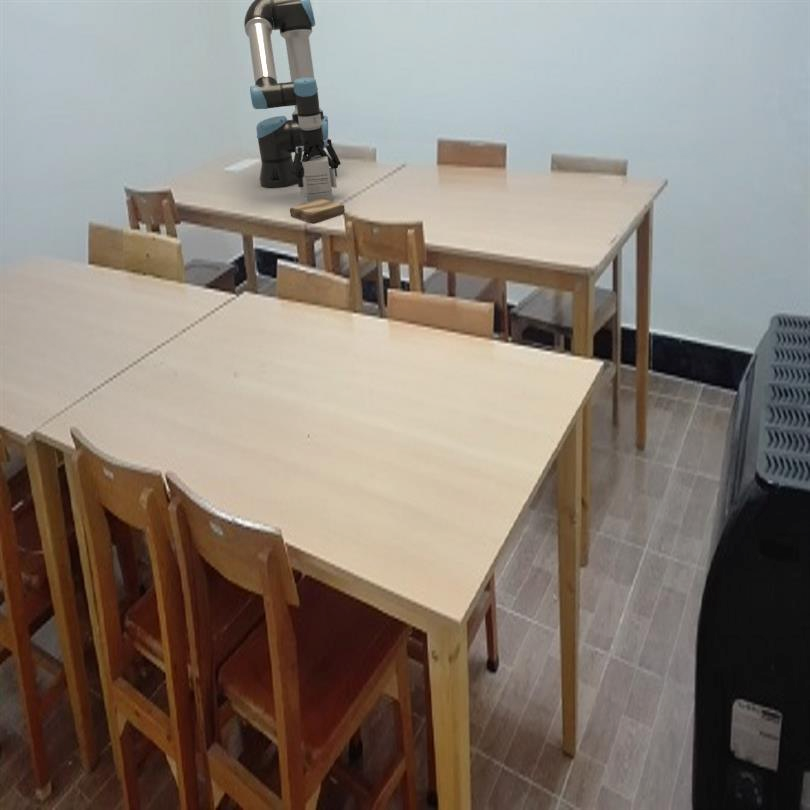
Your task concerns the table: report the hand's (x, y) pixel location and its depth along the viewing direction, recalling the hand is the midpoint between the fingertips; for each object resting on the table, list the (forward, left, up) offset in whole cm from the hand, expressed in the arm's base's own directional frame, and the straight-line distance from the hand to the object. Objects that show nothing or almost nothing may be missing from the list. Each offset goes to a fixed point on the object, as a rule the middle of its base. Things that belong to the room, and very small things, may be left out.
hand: (319, 191), depth 284 cm
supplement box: (0, 0, -4) cm, 4 cm away
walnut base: (+12, -10, -3) cm, 16 cm away
